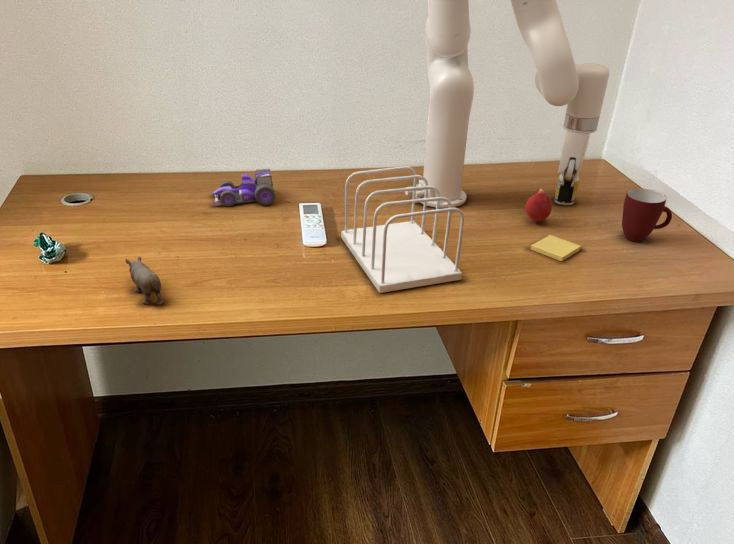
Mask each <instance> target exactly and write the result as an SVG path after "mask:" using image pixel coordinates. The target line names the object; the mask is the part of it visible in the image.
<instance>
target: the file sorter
mask: <svg viewBox="0 0 734 544" xmlns="http://www.w3.org/2000/svg"><path fill="white" fill-rule="evenodd" d="M405 170H407V171H410V172H412V174H413V175H404V176H393V177H385V178H384V177H383V178H374V179H367V180H364V181H362V182H360V184H358V186H357V188H356V190H355V194H354V195H355V197H354V217H353V228H351V229H349V184H350V181H351V180H352V179H353V178H354V177H357V176H360V175H361V176H362V175H370V174H378V173H379V174H380V173H385V172H386V173H387V172H394V171H405ZM404 180H413V186H412V187H411V186H409V187H410V188H406V187H401V188H400V187H399V188H390V189H389V188H388V189H379V190H374V191H373V192H371V193H370V194H368V196H367V197H366V199H365V202H364V207H363V208H364V209H363V224H362V225H363V226H362V227H358V213H359V212H358V210H359V209H358V207H359V195H360V191H361V189H362V188H363V187H365V185H366V186H367V185H368V184H376V183H385V182H394V181H404ZM418 180H424V182H425V186H421V187H416V185H417V181H418ZM344 184H345V186H344V193H345V194H344V230H341V231H340V238H341V240H342V241H343V243H344V244H345V245H346V247H347V248H348V250H349V251H350V253H351V254H352V256H353V257H354V258H355V260H356V262H357V263H358V264H359V265H360V267H361V268H362V270H363V271H364V274H366V276H367V277H368V279H369V280H370V282H371V283H372V284H373V285H374V287H375V289H376V291H377V292H378V293H379V294H383V293H389V292H395V291H400V290H405V289H412V288H419V287H424V286H430V285H435V284H442V283H449V282H454V281H455V282H456V281H460V280H462V276H463V275H462V274H463V272H462V271H461V269H459V264H460V258H461V257H460V256H461V249H462V241H463V233H464V228H465V227H464V225H465V214H464V212H463V211H462V210H461V209H459V208H458V207H452V204H451V202H450V201H449V200H448V199H447V198H445V197H440V193H439V191H438V189H437V188H435V187H433V186H428V182H427V180H426V178H424V177H423V175H420V174H417V172H416V170H415V169H414V168H413V167H411V166H408V165H407V166H406V165H403V166H396V167H395V166H394V167H387V168H386V167H385V168H377V169H368V170H361V171H354V172H353V173H351V174H350V175H348V177H347V178H346V181H345V183H344ZM428 189H432V190H434V191H435V192H436V193H437V197H434V198H427V195H428ZM416 190H425V196H424V199H416V198H415V196H416ZM404 191H413V194H412V198H411V199H405V200H404V199H403V200H396V201H387V202H383V203H381V204H380V205H379V206H377V208H376V209H375V211H374V214H373V220H372V221H373V223H372V226H367V223H368V221H367V220H368V207H369V202H370V201H371V199H372V198H373V197H375V196H377V195H382V194H383V195H384V194H391V193H402V192H404ZM404 193H405V192H404ZM440 200H443V201H446V202H447V203H448V205H449V208H439V205H440ZM429 201H437V203H436V207H435V209H429V210H427V202H429ZM420 202H424V204H423V206H422V210H421V211H415V206H416V204H417V203H420ZM409 204H411V212H407V213H400V214H399V213H398V214H395V215H392V216H391V217H390V218H388V219H387V221H386V222H385V223H384V224H379V225H377V218H378V214H379V212H380V211H381V210H382V209H383V208H386V207H389V206H398V205H409ZM453 212H456V213H459V215H460V216H459V217H460V223H459V231H458V232H459V233H458V240H457V247H456V254H455V255H456V256H455V263H454V261H452V260H451V258H449V257H448V256H447V250H448V244H449V243H448V242H449V235H450V228H451V221H452V214H453ZM440 213H447V219H446V220H447V221H446V227H445V228H446V229H445V236H444V242H443V250H442V248H440V246H438V244H437V243H436V236H437V235H436V234H437V227H438V219H439V214H440ZM432 214H434V219H433V220H434V222H433V227H432V236H431V237H430V236H429V235H428V234H427V233H426V232H425V225H426V224H425V223H426V215H432ZM417 216H421V225H419V224H418V223H417V222H416V221H415V217H417ZM403 218H410V221H402V222H401V221H400V222H394V223H392V222H393V221H395V220H397V219H403Z"/></svg>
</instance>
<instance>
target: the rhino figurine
mask: <svg viewBox="0 0 734 544" xmlns="http://www.w3.org/2000/svg"><path fill="white" fill-rule="evenodd" d="M125 263H126V264H127V265H128V267H129V270H128V271H129V273H130V279H131V281H132V282H133V284H134V285H135V286H136V288H135V290H134V293H143V296H144V299H143V300H142V304H144V305H150V304H151V299H150V298H151V292H153V293H154V295H155V298H156V300H155V304H156V305H158V306H161V305H164V303H165V301H164V300H163V298H162V293H161V290H162V283H161V280H160V278H159V276H158V275H157V274H156V273H155V272H154V271H153V270H152V269H151V268H150V267H149V266H148V265H147V264H145V263H144V262H142V257H141V256H138V257H137V259H135V260H130V259H127V258H125Z"/></svg>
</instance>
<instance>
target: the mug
mask: <svg viewBox="0 0 734 544" xmlns="http://www.w3.org/2000/svg"><path fill="white" fill-rule="evenodd" d="M666 203H667V196H666V195H665V194H664V193H662V192H660V191H658V190H654V189H650V188H632V189H628V191H627V192H626V194H625V196H624V201H623V206H622V217H621V228H622V232H623V236H624V238H625V239H626V240H628V241H630V242H634V243H639V242H640V243H641V242H643V241H645V239H647V238H648V237H649V236H650V235H651V234H652V232H653V231H654V230H660V229H664V228H665V227H667V226H668V225H669V224H670V223H671V221H672V219H673V213H672V210H671V209H670V208H669V207H667V206H666ZM663 213H665V215H666V218H665V220H663V222H662V223H660V224H657V223H658V222H659V220H660V218H661V216H662V214H663Z"/></svg>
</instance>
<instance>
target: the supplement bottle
mask: <svg viewBox="0 0 734 544" xmlns="http://www.w3.org/2000/svg"><path fill="white" fill-rule="evenodd" d="M567 171H568V170H566V172H567ZM573 173H575V171H573ZM579 174H580V173H579ZM579 174H578V175H576V176H575V180H574V185H573V186H574V190H573V195H572V199H571V202H570V203H568V202H561V201H558V200H557V199H558V194H559V189H560V185H561V184H562V180H563V175H564V172H563V173H560V175H559V176H558V179H557V183H556V190H555V196H554V202H555V203H556V204H558V205H562V206H571V205H573V204H574V203H575V201H576V196H577V192H578V187H579V183H580V177H579ZM572 179H573V176H572ZM571 184H572V183H571Z"/></svg>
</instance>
